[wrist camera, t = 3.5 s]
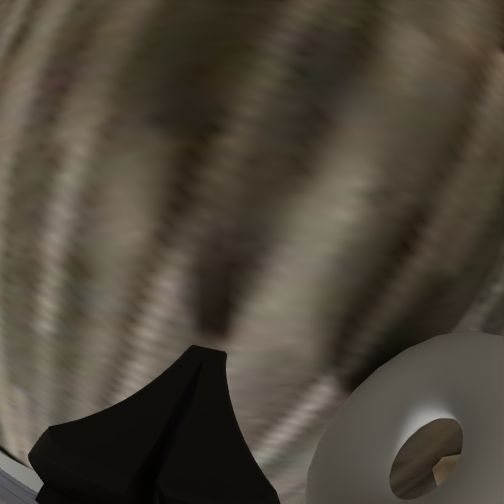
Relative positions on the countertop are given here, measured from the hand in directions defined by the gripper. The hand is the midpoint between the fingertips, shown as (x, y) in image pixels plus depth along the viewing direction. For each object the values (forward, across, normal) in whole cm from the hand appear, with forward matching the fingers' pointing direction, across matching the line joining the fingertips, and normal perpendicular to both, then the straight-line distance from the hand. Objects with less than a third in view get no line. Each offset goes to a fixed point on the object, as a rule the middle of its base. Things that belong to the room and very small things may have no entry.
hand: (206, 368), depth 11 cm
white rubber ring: (+2, -8, 0) cm, 8 cm away
